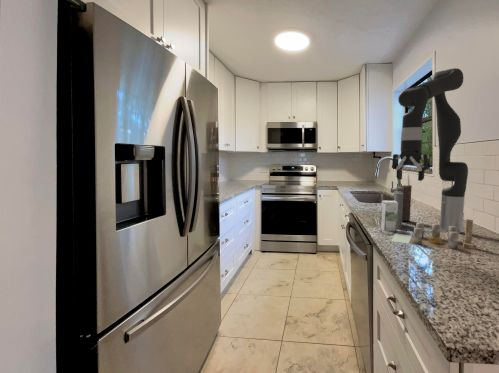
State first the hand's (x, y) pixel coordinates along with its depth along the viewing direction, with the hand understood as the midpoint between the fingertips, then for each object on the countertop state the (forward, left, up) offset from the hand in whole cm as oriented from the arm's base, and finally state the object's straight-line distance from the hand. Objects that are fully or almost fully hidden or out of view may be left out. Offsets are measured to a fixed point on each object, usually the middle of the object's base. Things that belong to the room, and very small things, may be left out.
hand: (409, 180), depth 131 cm
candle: (-41, -34, -26) cm, 59 cm away
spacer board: (-10, +8, -26) cm, 29 cm away
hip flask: (-27, -26, -26) cm, 46 cm away
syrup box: (-13, -20, -26) cm, 35 cm away
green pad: (-2, -4, -26) cm, 26 cm away
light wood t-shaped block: (-15, +16, -25) cm, 33 cm away
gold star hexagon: (-9, +6, -25) cm, 27 cm away
